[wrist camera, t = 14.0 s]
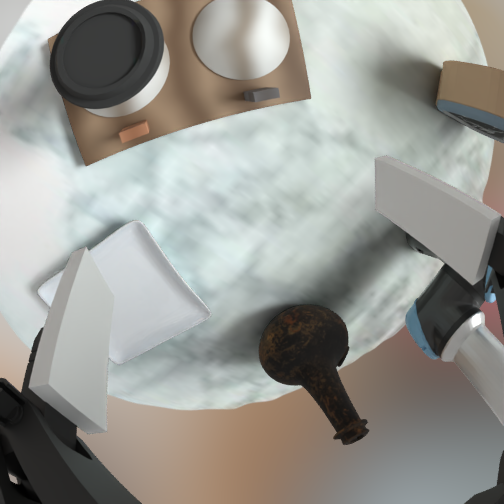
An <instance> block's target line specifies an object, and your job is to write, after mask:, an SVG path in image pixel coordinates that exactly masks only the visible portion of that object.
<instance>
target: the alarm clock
mask: <svg viewBox="0 0 504 504" xmlns="http://www.w3.org/2000/svg"><path fill="white" fill-rule="evenodd" d="M435 105H436V106H437V108H438V110H440V111H441V112H443V113H445V114H446V115H448V116H450V117H452V118H453V119H455V120H457V121H459V122H460V123H462V124H464V125H465V126H467V127H469V128H471V129H473V130H475V131H477V132H479V133H481V134H483V135H485V136H488V137H490V138H492V139H495V140H497V141H499V142H502V143H504V71H502V70H499V69H496V68H492V67H487V66H483V65H477V64H472V63H466V62H460V61H445V62H443V69H442V71H441V73H440V80H439V87H438V93H437V99H436V104H435Z"/></svg>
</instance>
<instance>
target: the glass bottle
mask: <svg viewBox="0 0 504 504" xmlns="http://www.w3.org/2000/svg"><path fill="white" fill-rule="evenodd" d="M348 351H349V346H348V331H347V328H346V325H345V323H344V322H343V320H342V319H341V318H340V317H339V316H338V315H337V314H336V313H335V312H333V311H331V310H330V309H327V308H325V307H322V306H317V305H300V306H295V307H292V308H290V309H288V310H286V311H284V312H282V313H280V314H279V315H278V316H277V317H275V318H274V319H273V320H272V321H271V322H270V324H269V325H268V326H267V328H266V329H265V331H264V333H263V335H262V337H261V340H260V344H259V359H260V362H261V365H262V367H263V369H264V370H265V372H266V373H267V374H268V375H269V376H270V377H271V378H272V379H274V380H275V381H277V382H279V383H282V384H286V385H301V386H303V387H304V388H305V389H306V390H307V391H308V392H309V393H310V395H311V396H312V397H313V398H314V400H315V401H316V402H317V403H318V405H319V406H320V408H321V409H322V410H323V412H324V413H325V415H326V416H327V418H328V419H329V421H330V422H331V424H332V426H333V427H334V428H335V430H336V432H337V433H336V434H335V436H334V437H333V439H341V440H342V443H343V445H348V444H352V443H354V442H356V441H358V440H360V439H362V438H363V437H364V436H366V434H367V433H368V432H369V430H368V429H367V428H366V427H365V425H366V424H367V423H368V422H367V420H366V419H363V420H361V419H360V417H359V415H358V414H357V412H356V410H355V408H354V407H353V404H352V403H351V401H350V399H349V397H348V395H347V393H346V391H345V389H344V386H343V384H342V382H341V380H340V377H339V375H338V372H337V369H336V367H337V366H338V367H340V366H341V365H342V363H343V361H344V360H345V358H346V356H347V354H348Z"/></svg>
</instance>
